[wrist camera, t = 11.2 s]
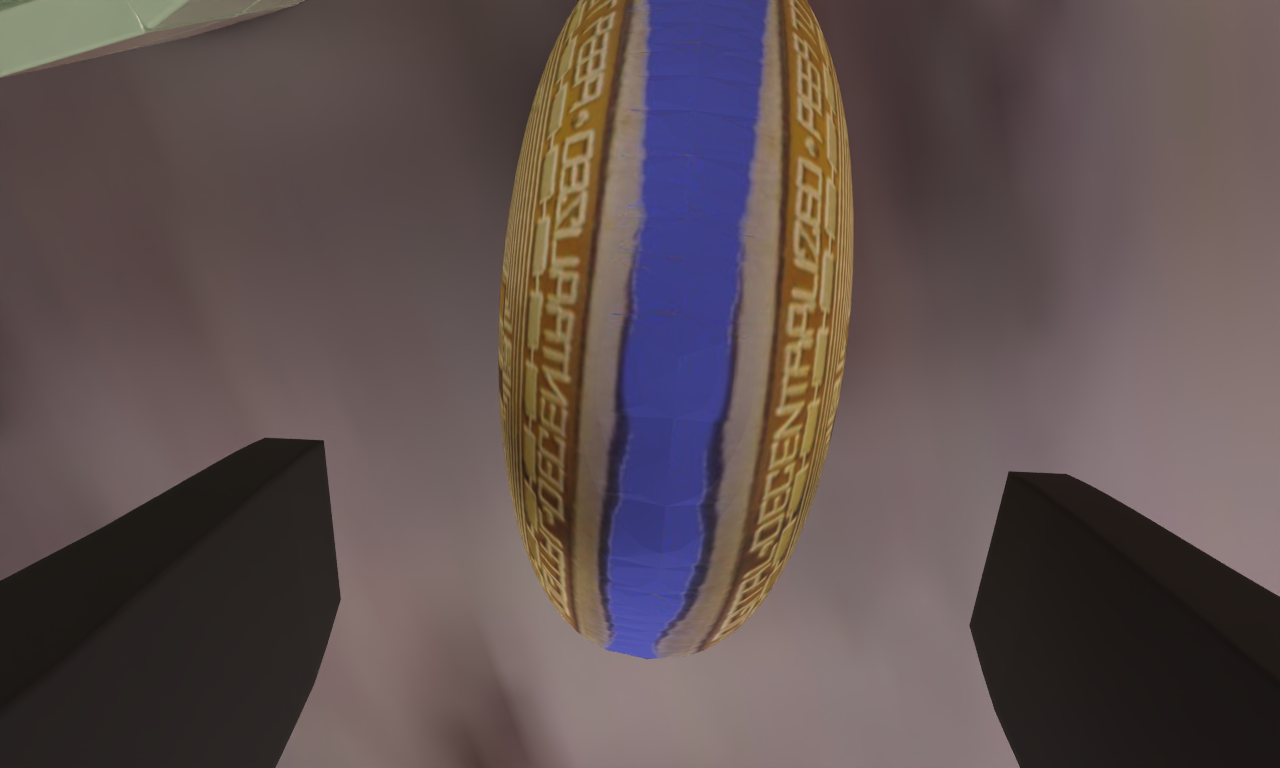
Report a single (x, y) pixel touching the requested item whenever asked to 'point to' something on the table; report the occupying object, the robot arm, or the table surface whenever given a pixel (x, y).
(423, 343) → the table surface
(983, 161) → the table surface
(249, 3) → the pot
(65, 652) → the robot arm
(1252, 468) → the table surface
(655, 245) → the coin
